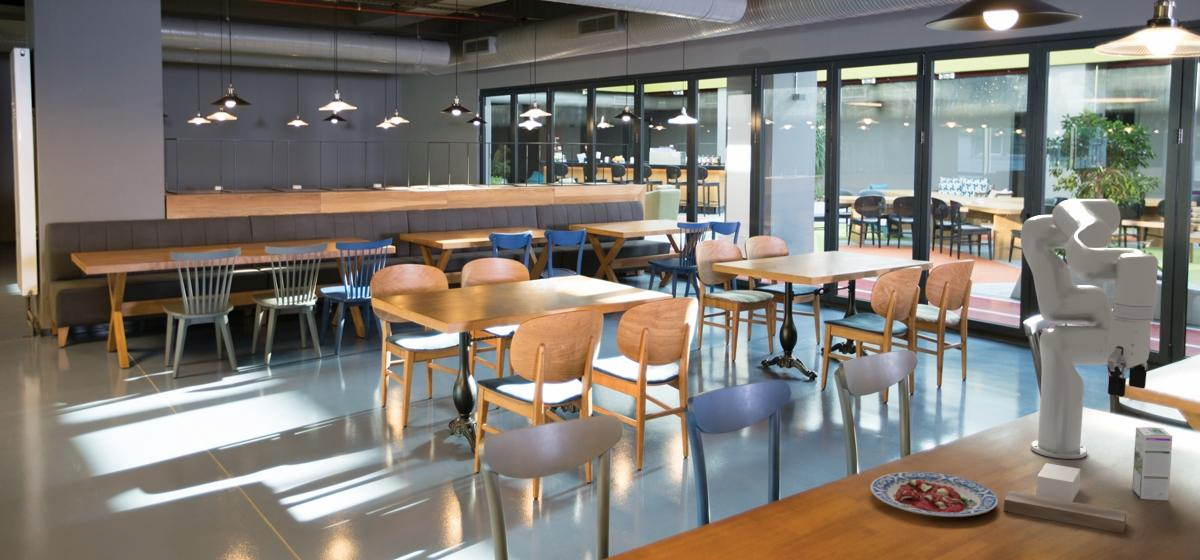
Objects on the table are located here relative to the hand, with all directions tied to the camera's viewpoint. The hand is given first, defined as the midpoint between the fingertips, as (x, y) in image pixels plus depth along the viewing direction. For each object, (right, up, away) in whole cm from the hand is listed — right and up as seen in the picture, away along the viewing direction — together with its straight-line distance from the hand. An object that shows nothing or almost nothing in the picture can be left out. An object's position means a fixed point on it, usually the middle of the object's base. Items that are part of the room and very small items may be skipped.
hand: (1126, 391), depth 204 cm
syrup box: (+7, -23, +4) cm, 25 cm away
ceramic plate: (-41, -24, +2) cm, 47 cm away
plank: (-17, -25, -7) cm, 31 cm away
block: (-12, -23, +6) cm, 27 cm away
